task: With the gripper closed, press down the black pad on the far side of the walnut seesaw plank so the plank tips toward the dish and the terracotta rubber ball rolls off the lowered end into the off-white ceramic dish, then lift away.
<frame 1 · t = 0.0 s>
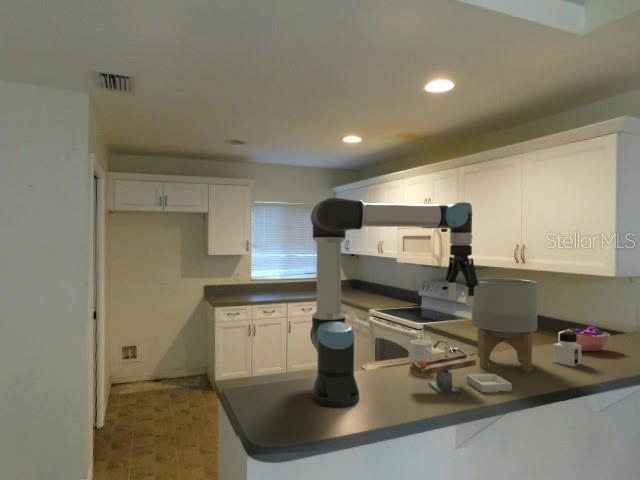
hand: (460, 302, 155), 28 cm above the counter, fingers open, 13 cm apart
dish: (488, 386, 147), on the counter
cell model: (585, 350, 197), on the counter
ball: (422, 363, 143), point 9 cm above the counter, tilted 12°, touching plank
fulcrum: (443, 388, 144), on the counter
container: (567, 363, 176), on the counter
planter: (503, 364, 175), on the counter
plank: (439, 360, 147), point 9 cm above the counter, hinge at -8.0°, touching ball
mug: (423, 369, 166), on the counter
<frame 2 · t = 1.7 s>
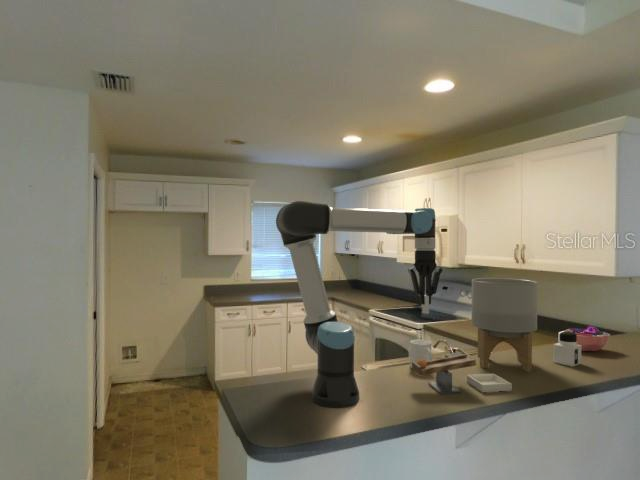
hand: (425, 313, 157), 24 cm above the counter, fingers closed
nothing on the counter moved.
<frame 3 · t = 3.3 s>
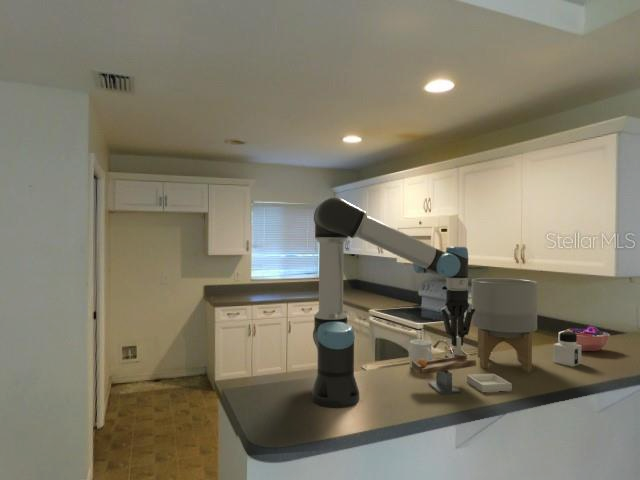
hand: (457, 354, 152), 10 cm above the counter, fingers closed
plank: (439, 360, 147), point 9 cm above the counter, hinge at -6.7°, touching ball, gripper
everything else where it was.
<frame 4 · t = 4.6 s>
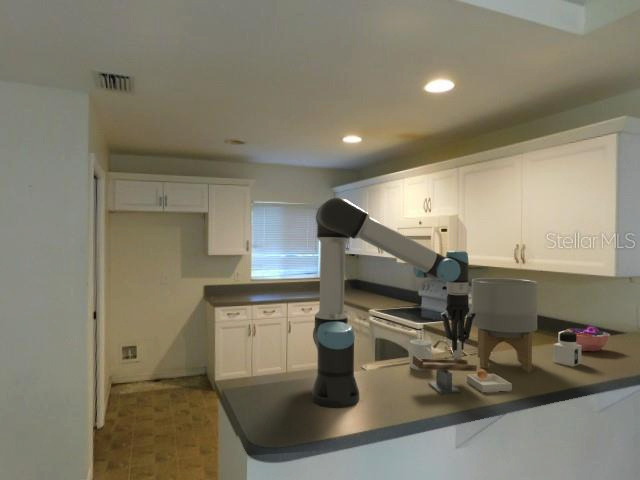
hand: (457, 358, 152), 8 cm above the counter, fingers closed
ball: (482, 374, 147), point 4 cm above the counter, tilted 50°
plank: (440, 360, 147), point 9 cm above the counter, hinge at 3.9°, touching gripper
everything else where it was.
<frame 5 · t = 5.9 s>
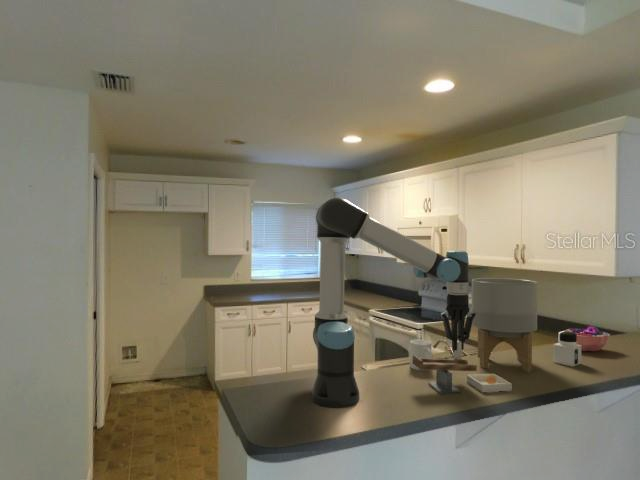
hand: (457, 358, 152), 8 cm above the counter, fingers closed
ball: (491, 380, 147), point 2 cm above the counter, tilted 153°, touching dish
everything else where it was.
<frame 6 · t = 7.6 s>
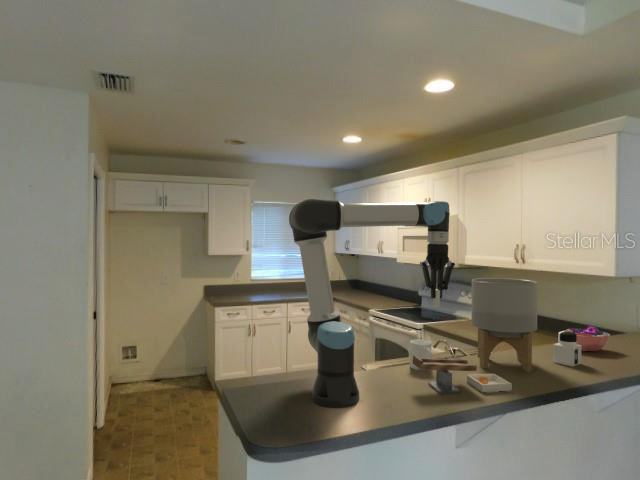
hand: (436, 307, 156), 26 cm above the counter, fingers closed
ball: (483, 380, 147), point 2 cm above the counter, tilted 105°, touching dish
plank: (440, 360, 147), point 9 cm above the counter, hinge at 3.9°
everything else where it was.
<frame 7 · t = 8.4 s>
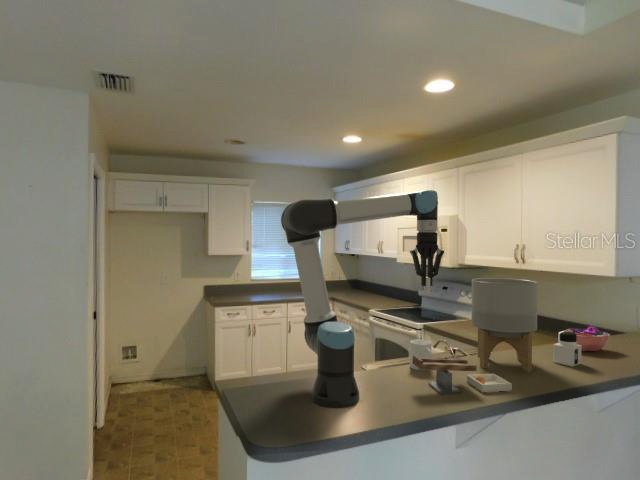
hand: (426, 294, 158), 30 cm above the counter, fingers closed
ball: (480, 380, 146), point 2 cm above the counter, tilted 61°, touching dish
everything else where it was.
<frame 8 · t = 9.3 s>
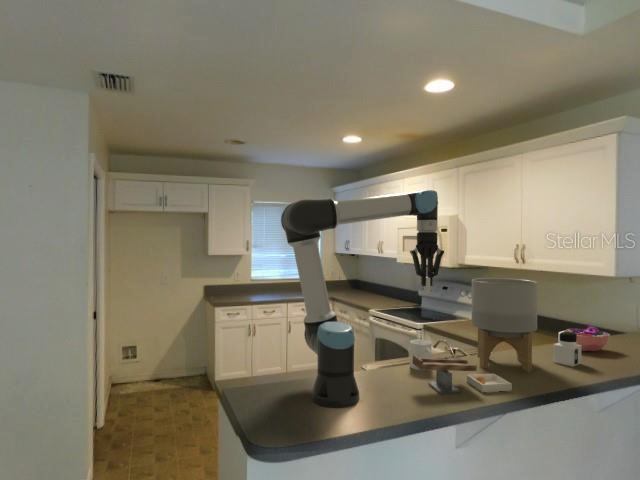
hand: (426, 294, 158), 30 cm above the counter, fingers closed
ball: (480, 380, 146), point 2 cm above the counter, tilted 68°, touching dish
everything else where it was.
at the end: ball inside the target area on the dish (2.9 cm from its centre), point 2.2 cm above the dish's base; plank at +4° (first picture: -8°) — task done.
